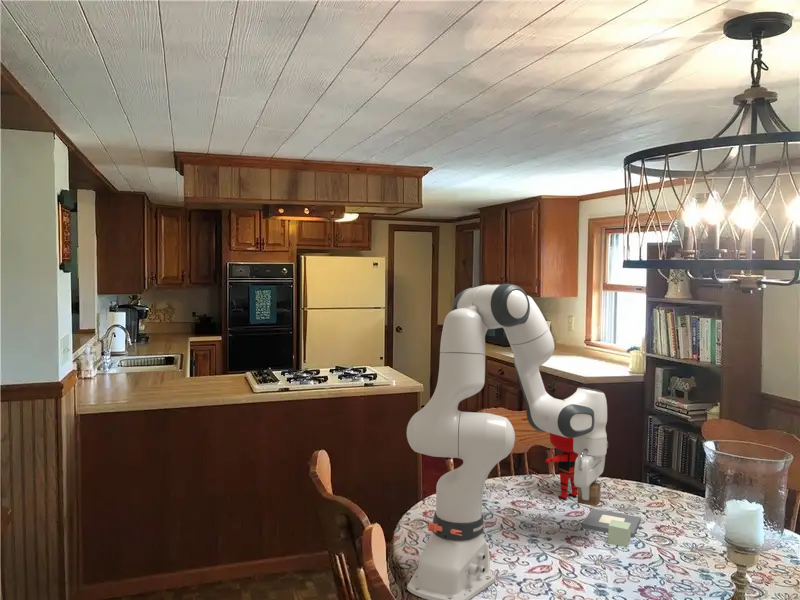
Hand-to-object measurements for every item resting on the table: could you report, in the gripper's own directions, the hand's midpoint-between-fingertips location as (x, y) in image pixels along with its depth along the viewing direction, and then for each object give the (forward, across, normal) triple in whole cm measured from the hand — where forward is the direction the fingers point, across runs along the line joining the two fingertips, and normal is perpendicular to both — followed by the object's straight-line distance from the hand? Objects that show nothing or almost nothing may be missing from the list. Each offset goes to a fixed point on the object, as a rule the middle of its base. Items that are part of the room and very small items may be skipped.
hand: (588, 496), depth 173 cm
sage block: (+12, +2, -8) cm, 14 cm away
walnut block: (+2, 0, 0) cm, 2 cm away
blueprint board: (+11, +14, -4) cm, 18 cm away
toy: (+10, +29, +13) cm, 33 cm away
